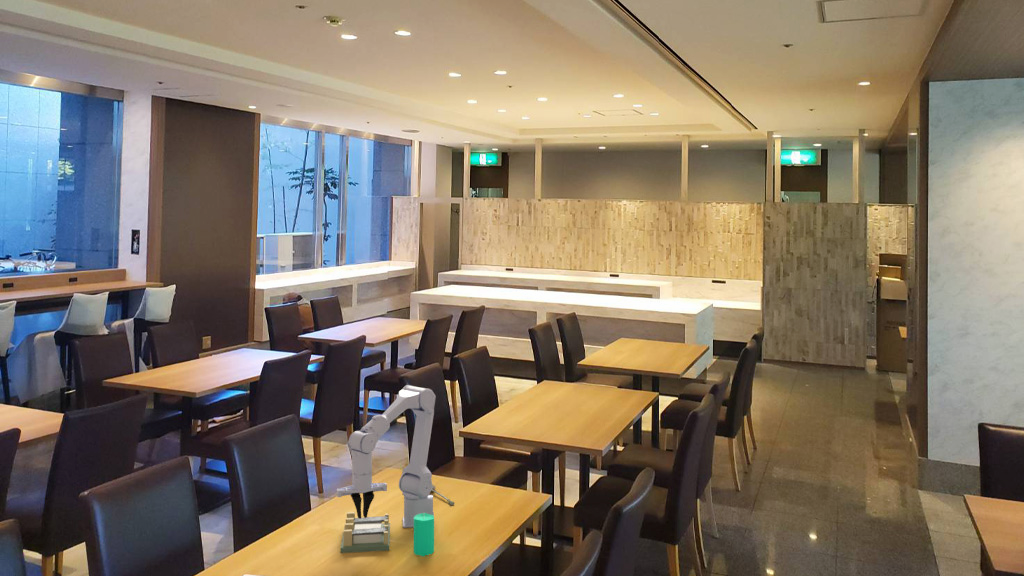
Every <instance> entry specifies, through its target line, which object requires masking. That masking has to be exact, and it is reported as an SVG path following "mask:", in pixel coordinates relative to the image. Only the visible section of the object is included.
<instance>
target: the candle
mask: <svg viewBox="0 0 1024 576" xmlns="http://www.w3.org/2000/svg"><path fill="white" fill-rule="evenodd" d="M433 552H434V553H435V514H434V515H430V514H427V513H422V514H418V515H416V516H415V517H414V527H413V554H414V555H416V556H418V555H420V556H419V557H426V556H425V555H428V556H430V555H429V554H431V555H432V553H433ZM434 553H433V554H434Z"/></svg>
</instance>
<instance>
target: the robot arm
mask: <svg viewBox="0 0 1024 576" xmlns="http://www.w3.org/2000/svg"><path fill="white" fill-rule="evenodd" d="M436 398H437V397H436V394H435V393H434V391H433V389H431V388H425V387H419V386H415V385H411V384H406V385H405V386H403V388H402V389H401V390H399V391H398V396H397V398H395V400H394V401H393V402H392V403H391V404H390V405H389V406H388V408H387V409H386V410H385V411H384V412H383V413H382V414H375V415H373V416H372V417H371V420H369V421H368V422H366V424H365V425H363V426H362V427H361V429H360V430H356V431H354V432H352V433H351V434H350V435H349V438H348V441H347V443H346V445H347V447H348V449H349V451H350V455H351V484H352V485H348V486H344V487H340V488H336V496H337V498H342V497H343V496H344V497H345V496H350V497H351V499H352V502H353V504H354V507H355V510H356V515H357V518H359V519H360V518H362V514H363V518H364V517H365V518H367V517H368V514H369V509H370V507H371V504H372V502H373V501H374V499H375V493H374V492H381V491H382V492H387V491H388V483H386V482H373V478H372V477H373V476H372V475H373V472H372V471H373V469H372V468H373V467H372V466H373V465H372V464H373V463H372V459H373V457H372V455H373V454H372V453H373V451H374V450H375V448H376V445H377V443H378V442H379V439H380V438H381V437H383V436H384V434H385V433H386V432H388V431H389V430H390V428H391V426H390V425H391V424H390V423H392V422H393V421H394V420H395V419H397V417H399V416H400V415H401V414H402V413H403V412H405V411H406V410H409V409H411V410H412V412H413V413H414V415H415V416H416V417H415V421H414V422H415V425H414V429H413V430H414V431H413V435H412V436H413V438H412V443H411V444H412V445H411V450H410V457H409V464H407V465H406V466H405V467H404V468H403V469H402V473H401V476H400V478H399V480H398V488H399V490H400V491H401V492H402V496H403V517H402V528H404V529H405V528H414V517H415V516H416V515H418V514H422V513H427V514H430V515H434V516H435V513H434V495H433V494H430V493H431V492H432V491H431V490H432V485H433V481H432V477H433V474H432V472H431V470H429V468H428V466H427V462H428V456H429V448H430V442H431V434H432V428H433V423H434V421H433V420H434V416H435V406H436V405H435V404H436ZM361 494H362V497H361ZM362 500H363V501H362ZM362 502H363V503H362ZM362 504H363V505H362Z"/></svg>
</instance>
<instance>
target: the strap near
mask: <svg viewBox="0 0 1024 576" xmlns="http://www.w3.org/2000/svg"><path fill="white" fill-rule="evenodd" d="M387 529H388V528H387V527H384V528H370V529H355V530H352V536H355V535H369V534H383V533H384V531H387Z"/></svg>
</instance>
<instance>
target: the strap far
mask: <svg viewBox="0 0 1024 576" xmlns="http://www.w3.org/2000/svg"><path fill="white" fill-rule="evenodd" d="M385 519H388V516H385V515H383V516H381V515H380V516H367V518H365V517H364V516H363V517H361V518H360V519H359V518H358V517H355V518H354V524H357V523H373V522H382V523H384V520H385Z"/></svg>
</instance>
